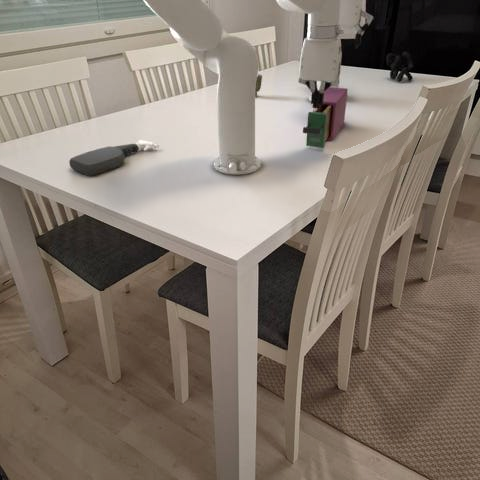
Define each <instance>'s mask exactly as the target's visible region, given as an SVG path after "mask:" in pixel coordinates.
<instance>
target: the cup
mask: <svg viewBox="0 0 480 480" xmlns="http://www.w3.org/2000/svg"><path fill="white" fill-rule="evenodd" d="M262 80H263V74H260V73H258V74H257V80H256V89H255V97H257V96H258V92H260V91H261V87H262V82H263V81H262Z"/></svg>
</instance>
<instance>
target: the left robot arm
mask: <svg viewBox="0 0 480 480" xmlns="http://www.w3.org/2000/svg"><path fill="white" fill-rule="evenodd" d="M275 1H276V3H277V5H278V6H279V7H280V8H281V9H283V10H286V11H289V12H294V13H301V14H307V31H306V37H304V39H303V44H302V46H301V47H302V48H301V53H300V61H299V72H298V76H299V77H298V83H299V84H301V85H303V86H304V85H305V86H306V87H307V88H308V89H309V91H310V93H311V95H312V97H311V101H310V104H311V105H312V108H313V109H314V108H319V107H320V106H321V105H322V104H323V100H324V91H325V90H327V89H328V88H329V87H333V86H338V85H340V77H339V76H341V71H342V70H341V69H342V68H341V67H342V57H341V51H342V41H341V40H342V39H340V38H337V36H338V35H340V34H343V33H344V28H340V27H339V25H338V24H339V13H340V1H341V0H275ZM143 2H144V3H145V5H146V6H147V7H148V8H149V9H150V10H151V11H152V12H153V13H154V14H155V16H157V17H158V18H159V19H160V20H161V21H163V23H164V24H166V25H167V26H168V27H169V30H170V32H171V35H172V37H173V39H174V40H175V41H176V42H177V43H178V44H179V45H180V46H181V47H182V48H183V49H185V50H186V51H187V52H188V53H190V55H192V57H194V58H195V59H197V60H198V61H199V62H200V63H201V64H202V65H203V66H205V67H206V68H207V69H209V70H210V71H211V72H213V73H214V74H217V75H218V82H217V89H216V110H217V111H216V112H217V133H218V135H217V136H218V137H217V138H218V157H216V158H215V159H214V160H213V167H214V169H215V170H216V171H217V172H219V173H222V174H226V175H233V176H234V175H238V176H239V175H247V174H252V173H254V172H256V171H258V170H259V169H260V168H261V166H262V161H261V159H260V158H259V157H258V156H256V96H255V89H256V80H257V76H258V74H259V73H258V72H259V62H260V61H259V56H258V53H257V50H256V49H255V47H254V46H253V45H252V44H251V43H250V42H249V41H248V40H246V39H244V38H241V37H238V36H235V35H231V34H229V33H228V32H226V31H225V30H224V28H223V25H222V21H221V20H220V17H219V16H218V14H216V12H215V11H214V10H213V9H212V8H210V7H209V5H207V4H206V3H205V2H204V1H202V0H143ZM317 81H321V85H320V89H319V90H318V89H317Z"/></svg>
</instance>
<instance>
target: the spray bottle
mask: <svg viewBox="0 0 480 480" xmlns="http://www.w3.org/2000/svg"><path fill="white" fill-rule="evenodd" d="M159 148H160V145H159V144H158V143H155V142H151V141H148V140H144V139H139V140H138V141H137V142H135V143H129V144H128V143H126V144H122V145H113V146H105V147H100V148H97V149H94V150H90V151H87V152H83V153H81V154H78V155H74V156H73V157H70V159H69V161H68V162H69V167H70V168H71V169H72V170H74V171H75V172H78V173H81V174H83V175H85V176H89V177H90V176H91V177H92V176H95V175H99V174H102V173H105V172H107V171H110V170H113V169H116V168H118V167H120V166H122V165H123V164H124V163H125V158H126V156H127V155H131V154H133V153H138V151H140V150H143V151H144V152H146V151H147V150H149V149H159Z"/></svg>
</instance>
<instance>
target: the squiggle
mask: <svg viewBox="0 0 480 480" xmlns="http://www.w3.org/2000/svg"><path fill="white" fill-rule="evenodd" d="M401 57H402V59H401ZM391 59H392V60H391ZM393 60H394V61H393ZM385 61H386V64H387V67H390V68H391V70H390V72H389V78H390V79H391V80H395V79H396V81H397V82H399V83H400V82H402V81H403V79H404V76H406V78H407V80H408V81H412V80H413V79H414V77H413V75H412V74H411V73H410V72H409V71H410V70H412V69H413V68H414V64H413V61H412V57H411V54H410V53H409V52H408V51H403V53H402V54H401V55H396V54H394V53H392V52H390V53H387V55H386V57H385ZM406 62H407V65H408V66H407V67H405V66H404V65H405V64H406ZM400 70H401V71H400Z"/></svg>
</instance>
